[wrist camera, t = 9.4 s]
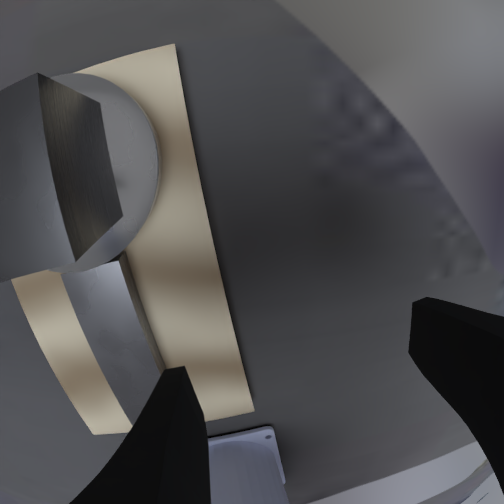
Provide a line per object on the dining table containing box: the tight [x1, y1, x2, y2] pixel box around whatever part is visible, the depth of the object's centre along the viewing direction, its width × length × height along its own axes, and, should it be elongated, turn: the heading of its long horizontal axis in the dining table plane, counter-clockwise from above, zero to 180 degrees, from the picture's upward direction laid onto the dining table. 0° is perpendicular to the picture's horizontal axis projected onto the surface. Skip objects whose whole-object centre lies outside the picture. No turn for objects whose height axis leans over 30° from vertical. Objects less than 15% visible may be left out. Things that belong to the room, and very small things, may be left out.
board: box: [11, 44, 254, 435], centre depth 16 cm, size 22×12×1 cm, turn 10°
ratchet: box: [48, 73, 167, 426], centre depth 13 cm, size 21×9×4 cm, turn 10°
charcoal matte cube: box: [0, 73, 123, 282], centre depth 9 cm, size 5×5×6 cm
